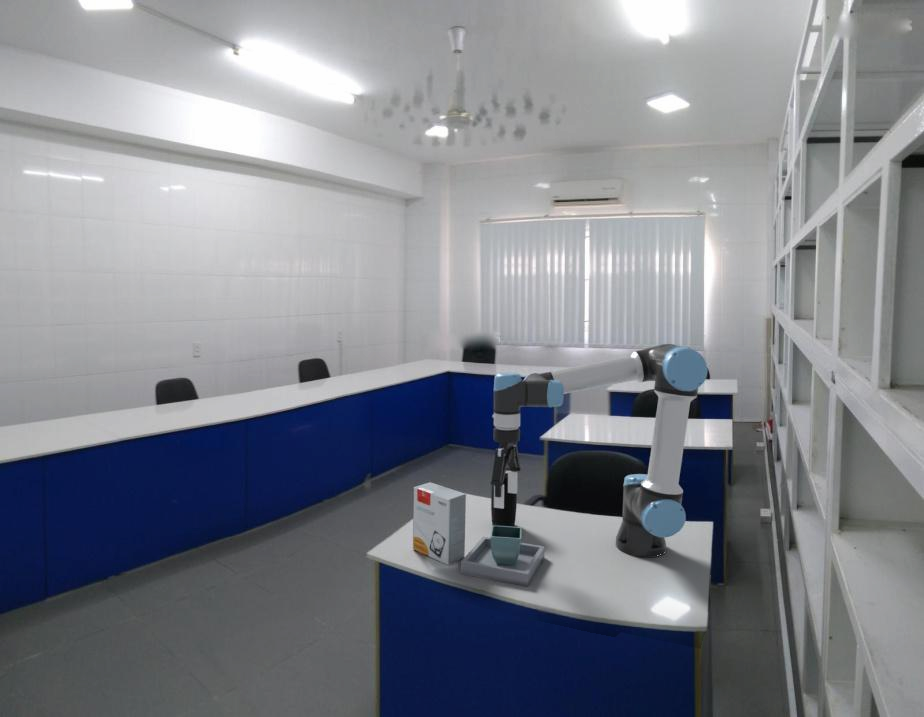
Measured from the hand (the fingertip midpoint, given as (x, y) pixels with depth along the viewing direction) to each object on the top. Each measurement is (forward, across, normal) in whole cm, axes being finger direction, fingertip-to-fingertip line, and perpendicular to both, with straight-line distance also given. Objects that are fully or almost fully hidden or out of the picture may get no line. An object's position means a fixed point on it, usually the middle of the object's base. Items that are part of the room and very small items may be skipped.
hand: (505, 500), depth 170 cm
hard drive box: (+20, 0, -21) cm, 29 cm away
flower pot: (+19, -1, 0) cm, 19 cm away
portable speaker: (+20, -29, -9) cm, 36 cm away
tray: (+20, 0, 0) cm, 20 cm away
